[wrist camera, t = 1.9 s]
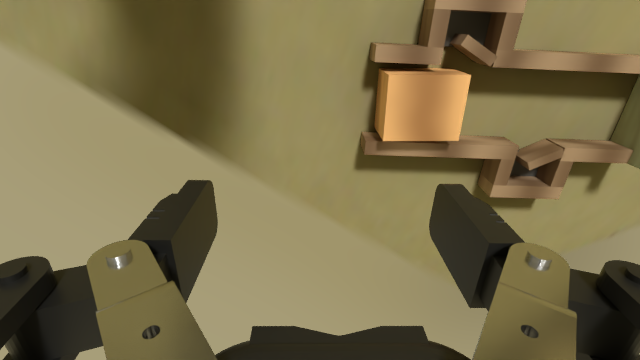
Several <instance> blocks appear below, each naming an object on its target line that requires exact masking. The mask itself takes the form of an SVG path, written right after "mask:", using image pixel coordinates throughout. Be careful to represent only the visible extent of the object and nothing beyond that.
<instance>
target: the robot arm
mask: <svg viewBox="0 0 640 360" xmlns="http://www.w3.org/2000/svg"><path fill="white" fill-rule="evenodd" d="M217 223H218V222H217V212H216V204H215V196H214V188H213V184H212V182H211V181H209V180H188V181H187V182H186V183H185V185H184V186H183V188H182V189H181V190H180V191H179V193H178V194H171V195H169V196H168V197H166V198H164V199H163V200H161V201H160V202H159V203H158V204H157V205H156V206H155V208H154V209H153V211H152V212H150V214H149V215H148V216H147V219H145V220H144V221H143V222H142V223H141V224H140V226H139V227H138V228H137V229H136V230H135V232H134V233H133V234H132V235H131V236H130V238H129V239H128V240H124V241H119V242H116V243H112V244H109V245H107V246H105V247H103V248H101V249H100V250H98V251H96V252H95V253H94V254H93V255H92V256H91V257H90V258H89V260H88V262H87V265H84V266H79V267H74V268H69V269H63V270H58V271H53V270H52V268H51V266H50V263H49V261H48V260H47V259H46V258H43V257H39V256H30V257H23V258H19V259H14V260H11V261H8V262H5V263H3V264H0V349H1V348H2V347H3V346H4V345H5V347H6V348H7V350H8V352H9V353H8V354H7V355H6V356H5V358H4V359H3V360H75V358H76V357H77V355H78V354H79V352H82V351H85V350H89V349H93V348H97V347H101V346H104V350H105V354H106V358H107V360H471V359H469V358H468V357H466V356H464V355H463V354H461V353H459V352H457V351H455V350H454V349H451V348H449V347H447V346H444V345H442V344H439V343H435V342H432V341H428V339H427V336H426V334H425V331H424V328H423V326H380V327H376V328H372V329H367V330H363V331H359V332H355V333H351V334H346V335H342V336H337V335H332V334H327V333H322V332H318V331H314V330H309V329H305V328H300V327H296V326H253V327H252V332H251V337H250V341H246V342H243V343H240V344H237V345H234V346H232V347H230V348H227V349H225V350H223V351H221V352H220V353H218V354H216V355H214V353H213V351H212V349H211V347H210V346H209V344H208V342H207V340H206V338H205V337H204V335H203V333H202V331H201V330H200V328H199V326H198V324H197V322H196V321H195V319H194V317H193V315H192V313H191V312H190V310H189V308H188V306H187V305H186V302H187V300H188V297H189V295H190V293H191V291H192V288H193V286H194V284H195V282H196V279H197V277H198V275H199V273H200V270H201V268H202V266H203V263H204V261H205V259H206V257H207V254H208V252H209V250H210V248H211V245H212V243H213V241H214V238H215V236H216V233H217ZM429 230H430V235H431V238H432V240H433V242H434V244H435V246H436V247H437V249H438V251H439V253H440V255H441V257H442V258H443V260H444V262H445V264H446V266H447V267H448V269H449V271H450V273H451V275H452V277H453V278H454V280H455V282H456V284H457V286H458V287H459V289H460V291H461V293H462V295H463V296H464V298H465V300H466V302H467V304H468V306H469V307H470V308H486V309H487V310H488V314H487V317H486V320H485V323H484V326H483V329H482V332H481V335H480V338H479V341H478V344H477V347H476V349H475V353H474V355H473V359H472V360H640V355H639V353H640V265H638V264H635V263H631V262H627V261H620V260H613V261H608V262H606V263H605V265H604V267H603V269H602V271H601V273H600V274H594V273H589V272H584V271H579V270H574V269H570V266H569V264H568V263H567V261H566V260H565V259H564V258H563V257H562V256H560V255H559V254H557V253H556V252H554V251H552V250H550V249H548V248H546V247H543V246H540V245H537V244H532V243H525V242H524V241H523V240H522V239H521V238H520V237H519V236H518V235H517V233H516V232H515V231H514V230H513V229H512V228H511V227H510V226H509V225H508V224H507V223H504V220H503V219H502V218H501V217H500V216H499V215H497V213H496V212H495V211H494V210H493V209H492V207H491V206H490V205H488V204H486V203H485V202H483V201H481V200H479V199H478V198H474V197H473V196H472V195H471V194H470V193H469V191H468V190H467V189H466V188H465V187H464V186H463V185H462V184H439V185H438V186H437V189H436V192H435V197H434V202H433V207H432V212H431V217H430V223H429Z"/></svg>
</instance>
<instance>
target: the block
mask: <svg viewBox="0 0 640 360" xmlns="http://www.w3.org/2000/svg"><path fill="white" fill-rule="evenodd" d="M470 79H471V75H469V74H466V73H464V72H461V71H458V70H455V69H452V68H379V76H378V89H377V102H376V115H375V129H376V130H377V132H378V134H379V135H380V137H381V139H382V140H383V141H459V136H460V131H461V126H462V120H463V115H464V110H465V105H466V100H467V95H468V89H469V84H470Z"/></svg>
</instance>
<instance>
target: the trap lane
mask: <svg viewBox="0 0 640 360" xmlns="http://www.w3.org/2000/svg"><path fill="white" fill-rule="evenodd" d="M526 2H527V0H425V4H424V10H423V16H422V23H421V29H420V35H419V41H418V45H413V44H392V43H371V47H370V56H369V59H371V60H372V61H374V62H386V63H409V64H432V65H441V60H442V55H443V49H444V46H452V47H455V48H456V49H458V50H459V51H460V52H462V53H463V54H464V55H466V56H467V57H469V58H470V59H471V60H473V61H474V62H476V63H479V64H482V65H486V66H490V67H500V68H522V69H545V70H567V71H590V72H613V73H635V74H639V77H638V79H637V81H636V83H635V86H634V88H633V90H632V92H631V95H630V97H629V99H628V101H627V104H626V106H625V108H624V110H623V113H622V115H621V117H620V119H619V122H618V124H617V126H616V128H615V131H614V133H613V135H612V137H611V140H610V141H602V140H574V139H543V140H541V141H538V142H536V143H533V144H531V145H529V146H526V147H524V148H521V149H519V146H518V145H516V144H515V143H513V142H511V141H510V140H508V139H506V138H505V137H491V136H463V135H460V136H459V141H383V140H382V139H381V137H380V135H379V134H378V132H362V135H361V144H360V145H361V147H362V150H363V152H364V155H392V156H421V157H451V158H481V159H484V163H483V167H482V170H481V174H480V177H479V181H478V184H477V185H478V186H479V187H480V188H481V189H482V190H483V191H484V192H485V193H486V194H487V195H488V196H489V197H504V198H538V199H559V197H560V194H561V192H562V189H563V187H564V184H565V182H566V180H567V177H568V175H569V172H570V170H571V167H572V165H573V162H601V163H628V164H630V165H632V166H634V167H636V168H639V169H640V55H629V54H607V53H586V52H564V51H543V50H521V49H514V45H515V41H516V38H517V34H518V31H519V27H520V23H521V20H522V16H523V13H524V9H525V5H526ZM518 149H519V150H518Z"/></svg>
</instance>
